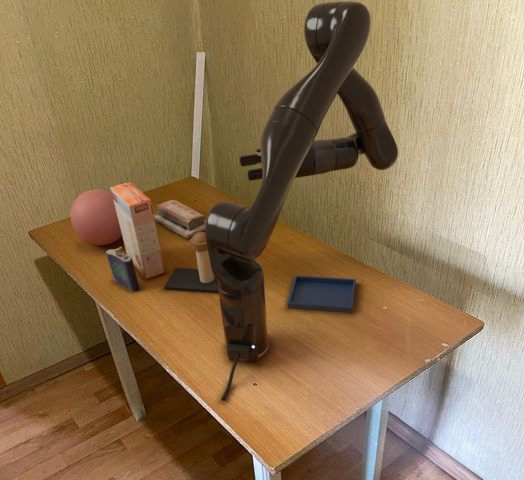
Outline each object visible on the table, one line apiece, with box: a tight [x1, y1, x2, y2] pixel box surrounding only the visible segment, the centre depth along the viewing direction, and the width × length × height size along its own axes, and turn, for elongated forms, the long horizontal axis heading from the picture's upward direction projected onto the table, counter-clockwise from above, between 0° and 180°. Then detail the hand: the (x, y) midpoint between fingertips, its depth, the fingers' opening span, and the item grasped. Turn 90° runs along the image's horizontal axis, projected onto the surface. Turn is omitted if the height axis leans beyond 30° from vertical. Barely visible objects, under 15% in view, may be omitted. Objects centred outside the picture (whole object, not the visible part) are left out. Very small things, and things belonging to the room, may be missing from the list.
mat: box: [164, 267, 219, 294], centre depth 136 cm, size 9×20×1 cm, turn 78°
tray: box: [286, 274, 357, 314], centre depth 128 cm, size 12×15×2 cm
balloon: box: [70, 188, 123, 246], centre depth 152 cm, size 15×20×15 cm
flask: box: [105, 246, 141, 292], centre depth 134 cm, size 9×3×11 cm, turn 50°
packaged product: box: [153, 199, 206, 240], centre depth 160 cm, size 18×5×10 cm
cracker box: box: [110, 181, 166, 280], centre depth 137 cm, size 14×6×21 cm, turn 31°
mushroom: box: [189, 231, 214, 283], centre depth 132 cm, size 5×5×13 cm
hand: (244, 168), depth 120 cm, fingers open, 8 cm apart
